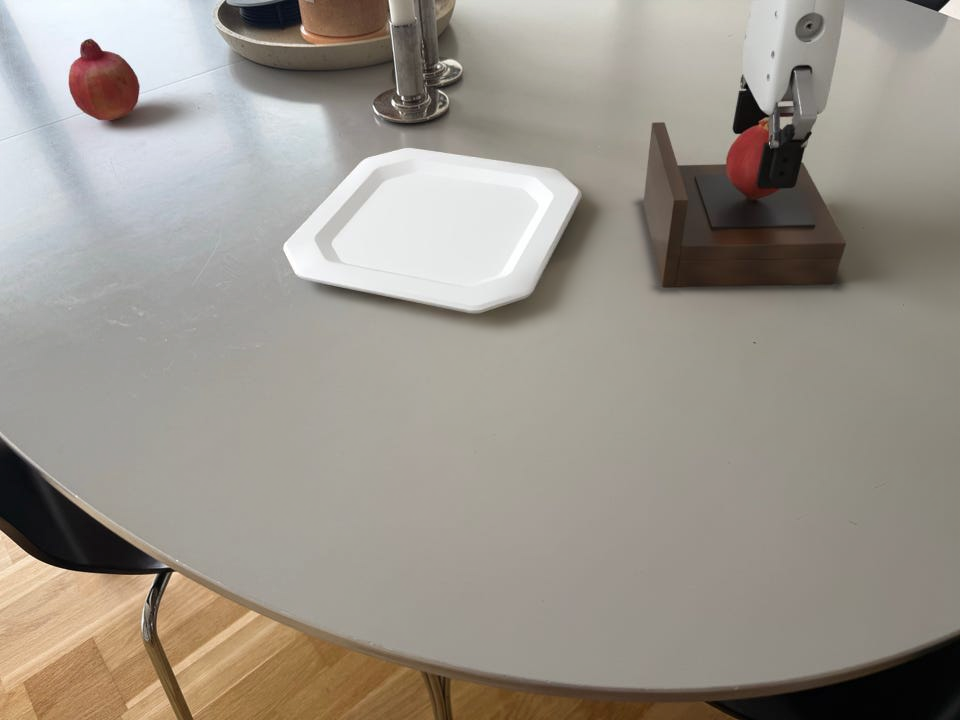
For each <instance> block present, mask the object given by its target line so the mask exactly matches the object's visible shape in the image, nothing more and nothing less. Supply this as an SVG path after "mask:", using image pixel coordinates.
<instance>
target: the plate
mask: <svg viewBox="0 0 960 720" xmlns="http://www.w3.org/2000/svg"><path fill="white" fill-rule="evenodd" d="M582 197H583V195H582V191H581V190H580V188H578V187H577V186H576V185H575V184H574V183H573V182H572V181H571V180H569V179H568V177H566V176H565V175H564V174H563V173H562V172H561V171H560V170H557V169H555V168H552V167H545V166H538V165H532V164H525V163H518V162H511V161H504V160H497V159H490V158H485V157H475V156H469V155H462V154H455V153H449V152H441V151H435V150H428V149H421V148H415V147H404V148H400V149H396V150H393V151H388V152H384V153H381V154H377V155H373V156H369V157H366V158H364V159H362V160H361V161H360V162H359V163H358V164H357V165H356V167H355V168H354V169H353V170H352V171H351V172H350V173H349V174H348V175H347V176H346V177H345V178H344V179H343V180H342V181H341V182H340V184H338V186H337V187H336V188H335V189H334V190H333V191H332V193H330V195H328V196H327V198H326V199H325V200H324V201H322V203H321V204H320V205H319V206H318V207H317V208H316V209H315V210H314V211H313V213H312V214H311V215H310V216H308V218H307V219H306V220H305V221H304V222H303V223H302V224H301V225H300V226H299V228H297V230H295V232H294V233H293V234H292V235H291V236H290V237H289V239H287V240H286V241H285V242H284V244H283V252H284V254H285V256H286V258H287V260H288V262H289V265H290V266H291V268H292V271H293V272H294V274H295V276H296V277H298V278H299V279H301V280H303V281H308V282H312V283H317V284H323V285H329V286H333V287H337V288H343V289H347V290H352V291H357V292H362V293H367V294H372V295H378V296H382V297H388V298H392V299H397V300H402V301H407V302H412V303H417V304H421V305H427V306H432V307H437V308H442V309H447V310H452V311H457V312H462V313H467V314H481V313H485V312H489V311H492V310H493V309H498V308H500V307H503V306H507V305H509V304H513V303H515V302H516V303H517V302H519V301H521V300H525V299H527V298H529V297H530V296H531V295H532V294H533V292H534V291H535V289H536V287H537V285H538V283H539V281H540V279H541V277H542V275H543V274H544V272H545V269H546V267H547V265H548V264H549V262H550V260H551V258H552V256H553V254H554V252H555V250H556V248H557V246H558V244H559V242H560V241H561V239H562V236H563V234H564V232H565V230H566V229H567V226H568V225H569V222H570V220H572V216H573V215H574V213H575V212H576V209H577V207H578V205H579V203H580V201H581V199H582Z"/></svg>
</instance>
